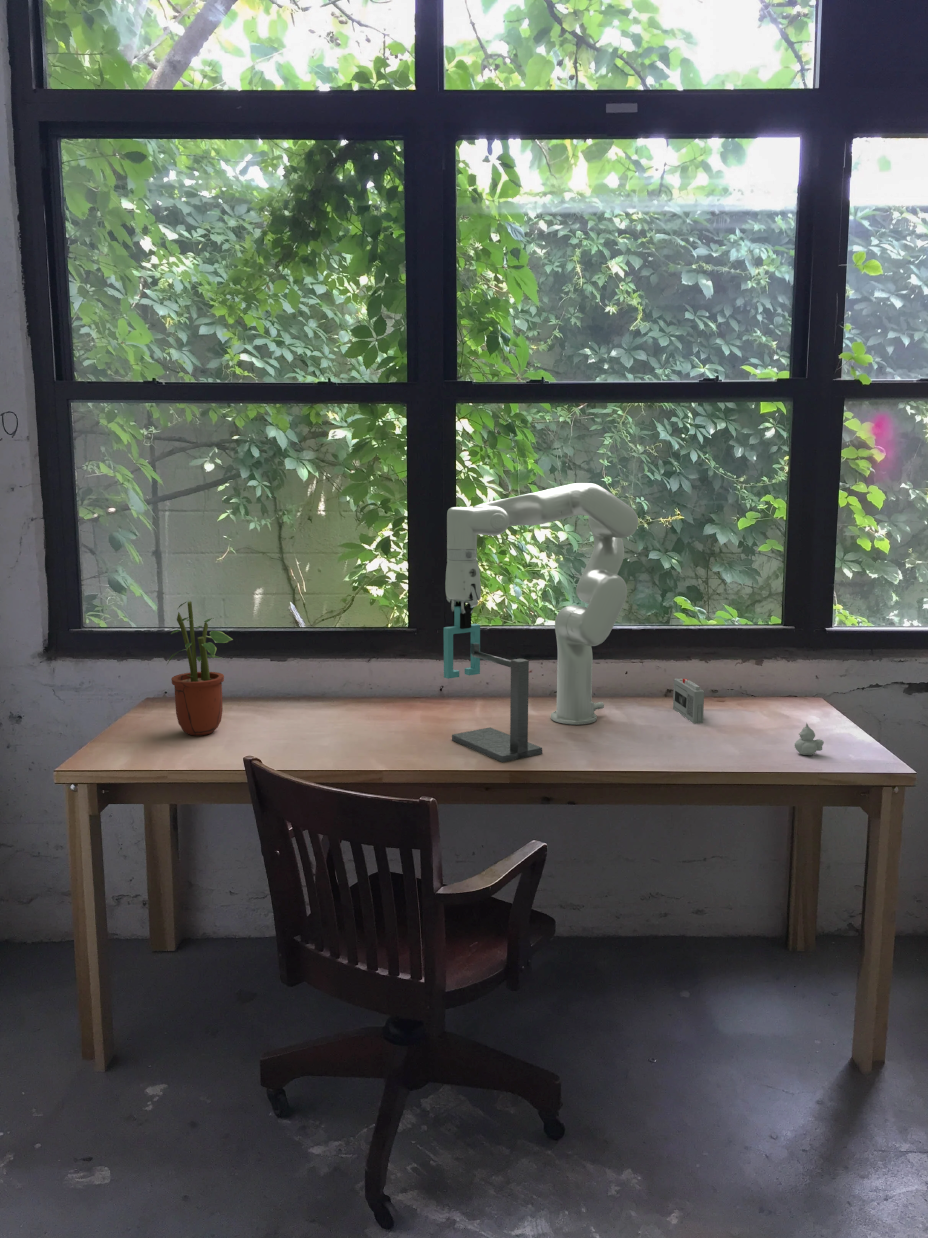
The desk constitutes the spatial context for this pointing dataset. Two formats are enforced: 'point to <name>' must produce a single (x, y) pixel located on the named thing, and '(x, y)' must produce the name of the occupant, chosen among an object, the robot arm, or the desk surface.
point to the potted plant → (199, 683)
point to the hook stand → (517, 742)
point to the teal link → (449, 646)
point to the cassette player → (688, 700)
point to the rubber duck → (808, 742)
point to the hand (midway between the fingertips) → (462, 626)
